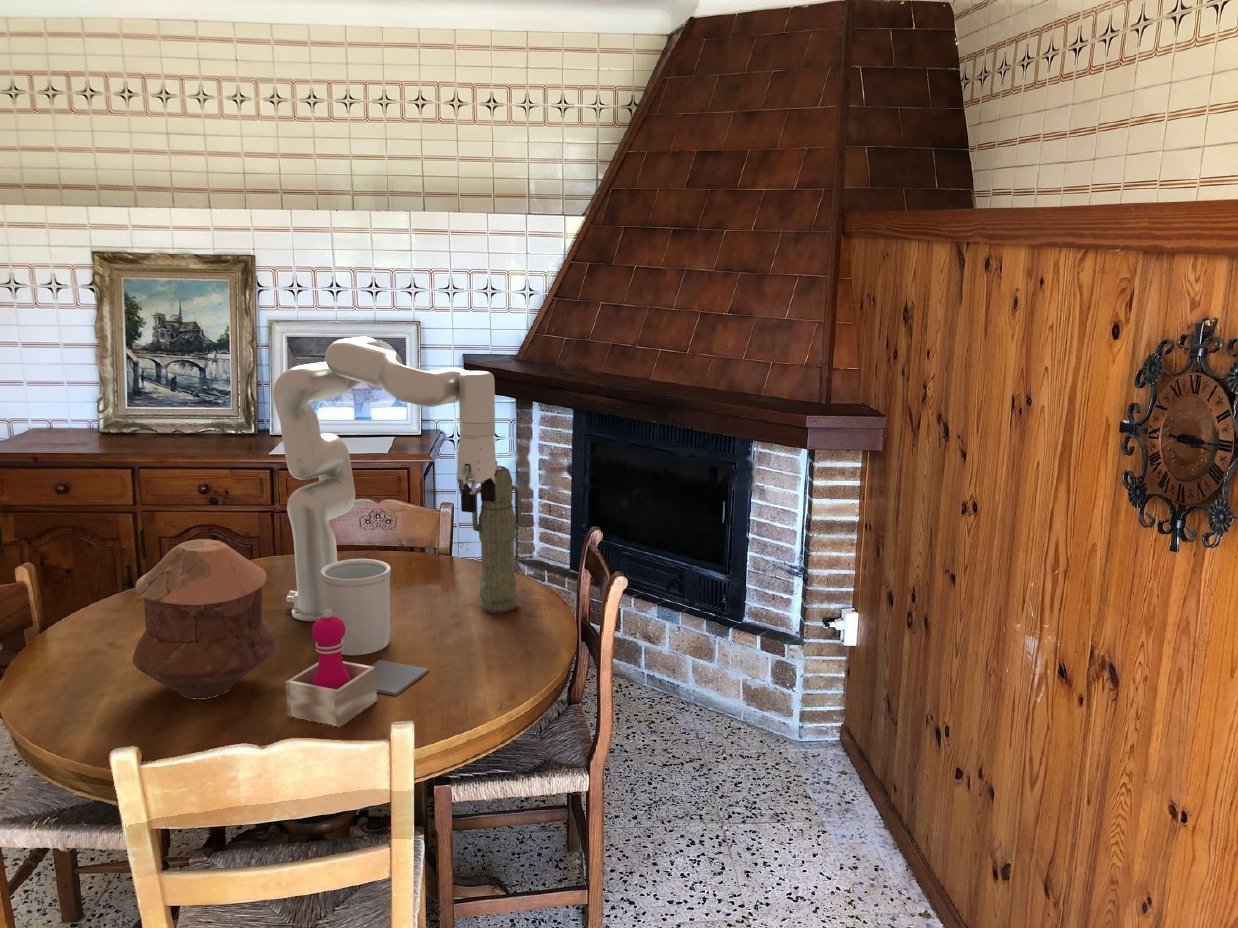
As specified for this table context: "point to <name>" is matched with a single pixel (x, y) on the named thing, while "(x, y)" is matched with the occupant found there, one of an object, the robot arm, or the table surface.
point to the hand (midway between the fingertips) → (478, 506)
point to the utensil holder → (359, 602)
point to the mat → (396, 676)
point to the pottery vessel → (202, 619)
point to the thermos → (498, 544)
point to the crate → (331, 695)
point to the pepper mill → (330, 651)
